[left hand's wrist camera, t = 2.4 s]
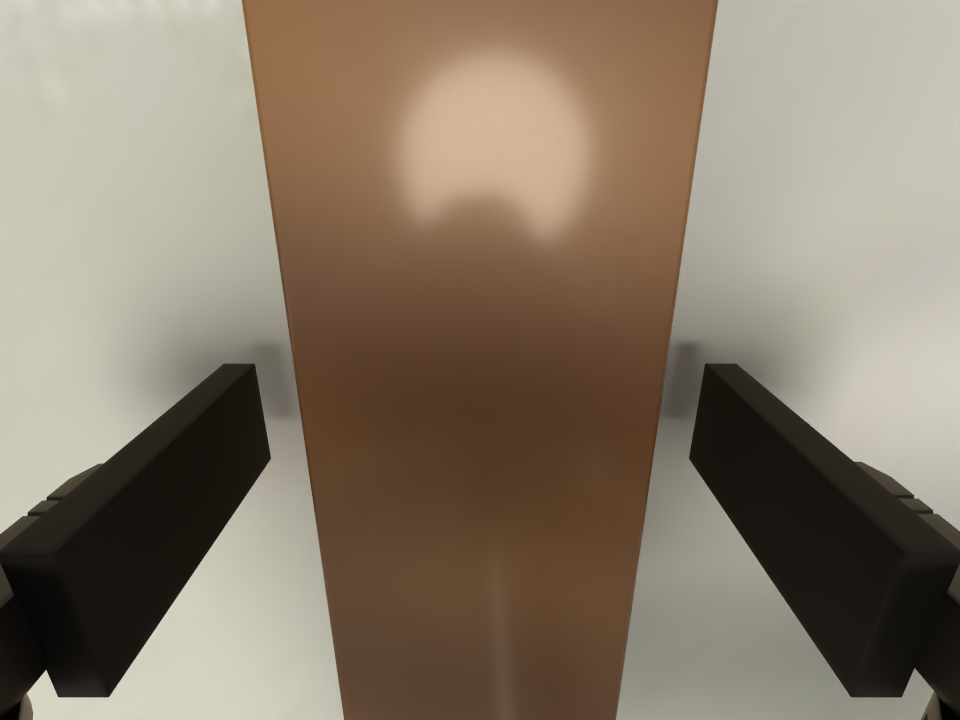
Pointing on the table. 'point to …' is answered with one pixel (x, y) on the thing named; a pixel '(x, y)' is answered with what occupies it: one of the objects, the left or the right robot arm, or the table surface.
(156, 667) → the table surface
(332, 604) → the post
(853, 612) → the left robot arm
